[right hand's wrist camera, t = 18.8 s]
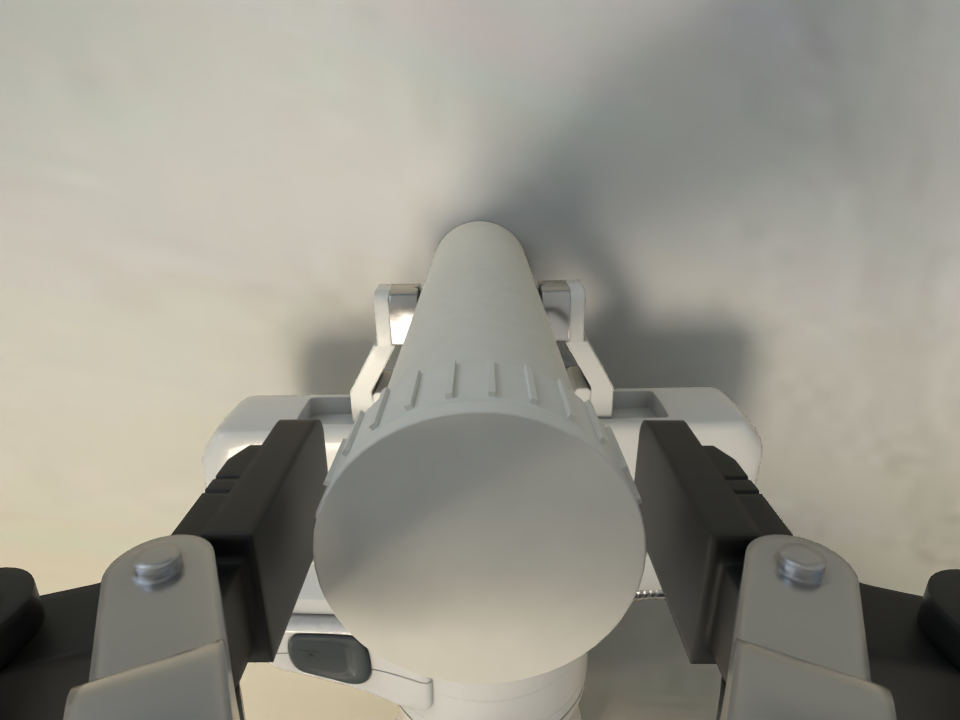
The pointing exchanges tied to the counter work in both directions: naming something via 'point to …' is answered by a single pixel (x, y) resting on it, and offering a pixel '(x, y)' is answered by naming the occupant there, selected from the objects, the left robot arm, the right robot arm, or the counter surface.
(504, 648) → the lid
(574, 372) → the left robot arm
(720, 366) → the counter surface
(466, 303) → the slender white bottle
